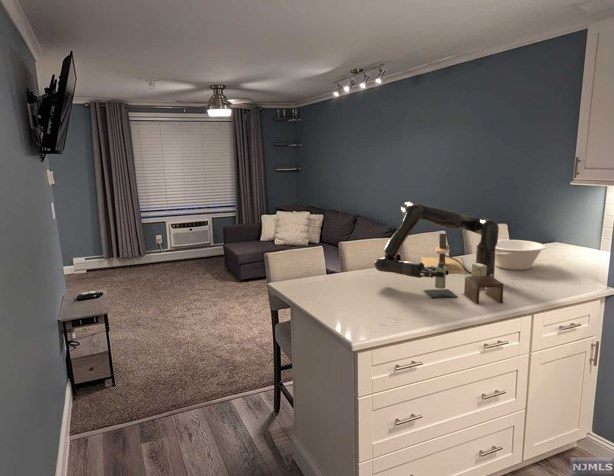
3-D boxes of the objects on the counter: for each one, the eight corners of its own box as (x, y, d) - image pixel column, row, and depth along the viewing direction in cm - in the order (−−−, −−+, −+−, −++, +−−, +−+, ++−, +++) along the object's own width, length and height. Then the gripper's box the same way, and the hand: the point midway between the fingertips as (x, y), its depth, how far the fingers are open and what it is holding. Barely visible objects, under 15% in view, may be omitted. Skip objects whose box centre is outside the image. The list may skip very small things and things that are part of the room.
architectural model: (466, 273, 245) (467, 239, 242) (420, 271, 252) (421, 238, 248) (461, 258, 281) (462, 228, 278) (421, 257, 288) (422, 228, 285)
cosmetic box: (470, 286, 218) (471, 263, 216) (477, 285, 220) (478, 262, 218) (479, 290, 213) (480, 266, 211) (486, 289, 214) (487, 265, 212)
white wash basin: (502, 256, 283) (503, 236, 281) (557, 265, 257) (559, 243, 255) (467, 268, 256) (468, 246, 253) (525, 278, 230) (526, 254, 228)
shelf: (464, 294, 206) (464, 276, 205) (488, 293, 207) (489, 275, 205) (476, 304, 192) (477, 284, 191) (502, 303, 193) (503, 283, 191)
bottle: (433, 285, 210) (434, 262, 208) (443, 285, 210) (444, 261, 208) (436, 288, 205) (437, 264, 203) (446, 288, 205) (447, 264, 203)
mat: (424, 290, 214) (424, 290, 214) (448, 290, 214) (448, 289, 214) (431, 298, 202) (431, 297, 202) (457, 297, 202) (457, 296, 202)
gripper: (406, 264, 209) (440, 269, 198) (419, 259, 220) (451, 263, 209) (406, 279, 210) (440, 285, 200) (418, 273, 221) (451, 278, 211)
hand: (446, 274), depth 205 cm, fingers closed on bottle, 5 cm apart
